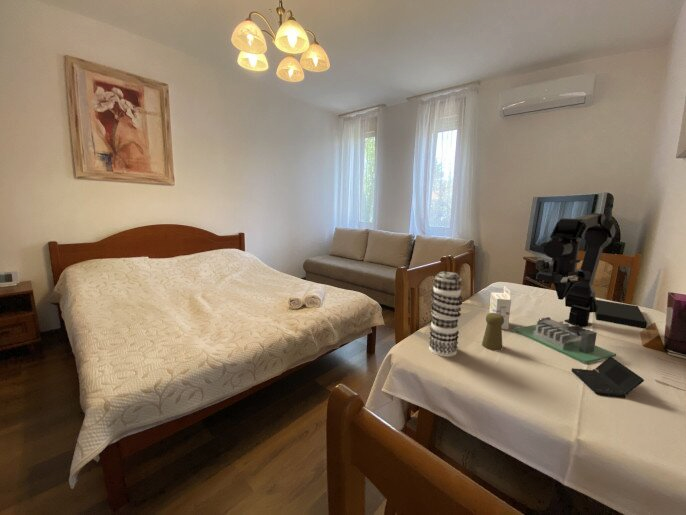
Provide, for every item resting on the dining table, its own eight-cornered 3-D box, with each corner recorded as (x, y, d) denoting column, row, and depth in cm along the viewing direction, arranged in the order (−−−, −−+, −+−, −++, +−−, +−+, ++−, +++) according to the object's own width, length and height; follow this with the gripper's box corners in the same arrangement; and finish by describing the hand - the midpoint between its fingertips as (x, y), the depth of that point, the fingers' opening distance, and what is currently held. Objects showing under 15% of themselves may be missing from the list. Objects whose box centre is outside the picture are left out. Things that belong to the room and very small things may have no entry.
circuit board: (540, 325, 110) (541, 323, 110) (616, 356, 88) (616, 353, 88) (513, 330, 106) (513, 328, 106) (584, 364, 84) (585, 361, 84)
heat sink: (552, 329, 105) (554, 313, 104) (602, 349, 91) (605, 331, 90) (527, 333, 102) (529, 317, 100) (575, 355, 87) (578, 336, 86)
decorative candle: (421, 346, 94) (425, 271, 90) (443, 341, 98) (448, 268, 93) (441, 359, 86) (447, 278, 81) (464, 353, 89) (471, 275, 85)
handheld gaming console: (564, 365, 80) (594, 341, 77) (581, 379, 81) (611, 356, 79) (597, 398, 69) (634, 371, 66) (616, 412, 70) (653, 387, 68)
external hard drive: (595, 320, 117) (597, 313, 116) (594, 305, 135) (595, 299, 134) (646, 330, 108) (647, 322, 107) (636, 312, 126) (638, 306, 125)
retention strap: (547, 319, 103) (548, 315, 103) (586, 334, 91) (587, 329, 91) (538, 320, 102) (539, 316, 101) (576, 336, 90) (577, 331, 90)
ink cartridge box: (487, 319, 116) (491, 284, 113) (500, 320, 115) (504, 285, 112) (494, 328, 108) (497, 290, 105) (508, 329, 107) (512, 291, 104)
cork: (500, 343, 96) (504, 312, 94) (504, 352, 90) (507, 318, 88) (480, 340, 98) (483, 309, 96) (483, 348, 92) (486, 316, 90)
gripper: (561, 250, 109) (556, 290, 111) (524, 253, 103) (519, 295, 106) (595, 255, 98) (588, 299, 101) (556, 258, 92) (549, 304, 95)
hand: (560, 299), depth 101 cm, fingers closed
